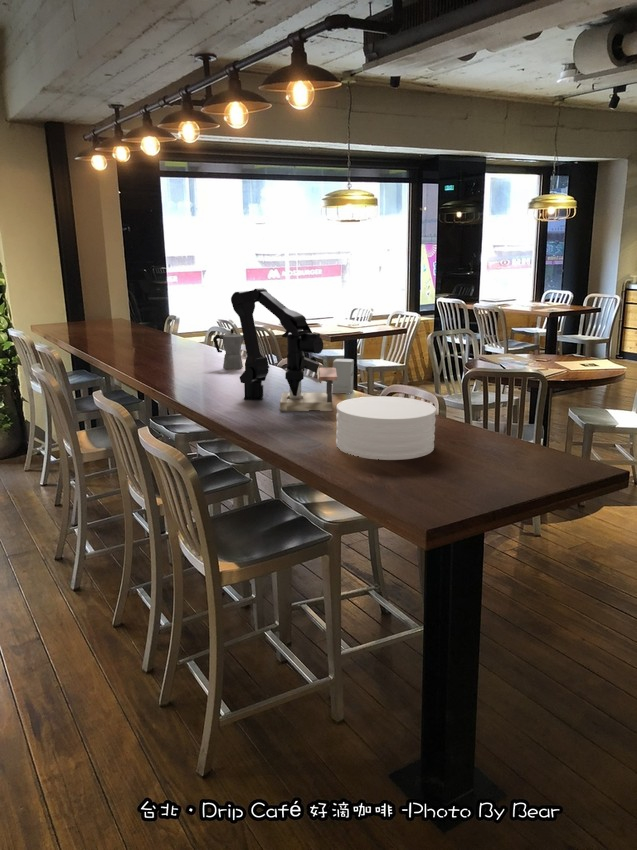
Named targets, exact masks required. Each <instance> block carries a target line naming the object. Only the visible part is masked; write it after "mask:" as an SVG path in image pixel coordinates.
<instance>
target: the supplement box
mask: <svg viewBox="0 0 637 850" xmlns="http://www.w3.org/2000/svg"><path fill="white" fill-rule="evenodd" d="M354 364H355V361H354V359H352V358H335V359H334V360H333V361H332V368H336V373H337V380H332V394H339V393H346V394H345V395H351V393H352V392H353V391H354V369H355V368H354V367H355V366H354ZM349 393H350V394H349Z"/></svg>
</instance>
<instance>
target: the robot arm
mask: <svg viewBox="0 0 637 850" xmlns="http://www.w3.org/2000/svg"><path fill="white" fill-rule="evenodd" d="M257 302H258V303H259V304H261V305H262V306H263V307H264V308H265V309H266V310H268V311H269V312H270V313H272V314H273V315H274V316H275V317H276V318H277V319H278V320H279V323H280V325H281V326H282V328H283V329H284V330H285V332H284V333H283V334H282V335H281V337H282V338H284V339H285V338H286V371H285V374H284V375H285V376H284V378H285V380H286V381H287V384H288V385H289V390H290V389H291V391H292V393H293V396H297V391H298V386H299V382H300V381H301V382H302V380H304V378H305V377H304V376H305V373H304V372H305V370H308V371H311V372H313V373H316V374H317V372H318V371H319V368H320V362H319V361H317V358H316V356H311V357H310V358H308V357H305V353H306V354H307V353H310V354H315V355H318V354H319V355H320V354H321V353H322V352H323V349H324V346H325V345H324V342H323V339H322V337H321V335H320V333H313V331H312V329H311V328H310V326H309V324H308V322H307V318H306V317H305V316H304V315H303V314H302V313H300V312H297V311H296V310H292V309H289V308H288V307H286V305H284V303H282V302H280V301H279V300H278V299H277V298H275V297H274V295H272V294H271V293H270V292H268V290H267V289H266V288H263V287H261V288H254V289H252V290H246V291H245V290H244V291H235V292H234V293H232V295H231V297H230V303H231V305H232V307H233V311H234V312H235V314H236V315H237V316H238V318H239V320H240V326H241V332H242V335H243V337H244V341H243V343H244V347H245V353H246V358H245V362H244V371H243V373H242V374H241V375H240V376H239V380H240V383H242V384H244V387H243V389H244V397H243V399H244V400H262V399H263V397H264V385H263V382H265V381H266V379H267V375H268V374H269V371H270V370H269V369H270V366H269V363H268V362H269V361H268V357H267V356H266V357H265V356H263V355H262V354H261V350H260V345H259V340H258V334H257V330H256V329H257V328H256V324H255V320H254V312H255V308H256V303H257Z"/></svg>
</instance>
